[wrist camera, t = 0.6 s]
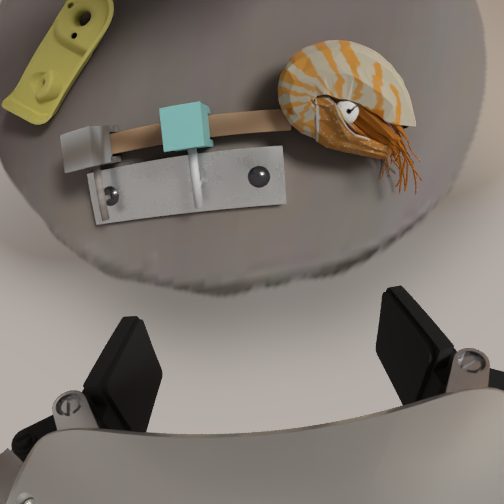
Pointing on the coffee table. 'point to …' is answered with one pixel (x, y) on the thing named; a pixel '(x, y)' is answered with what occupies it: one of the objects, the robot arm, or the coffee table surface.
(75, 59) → the plastic component
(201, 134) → the block
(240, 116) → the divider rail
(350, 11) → the coffee table surface
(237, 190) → the bolt plate
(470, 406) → the robot arm
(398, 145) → the nautilus
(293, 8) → the coffee table surface
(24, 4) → the coffee table surface
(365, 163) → the coffee table surface
